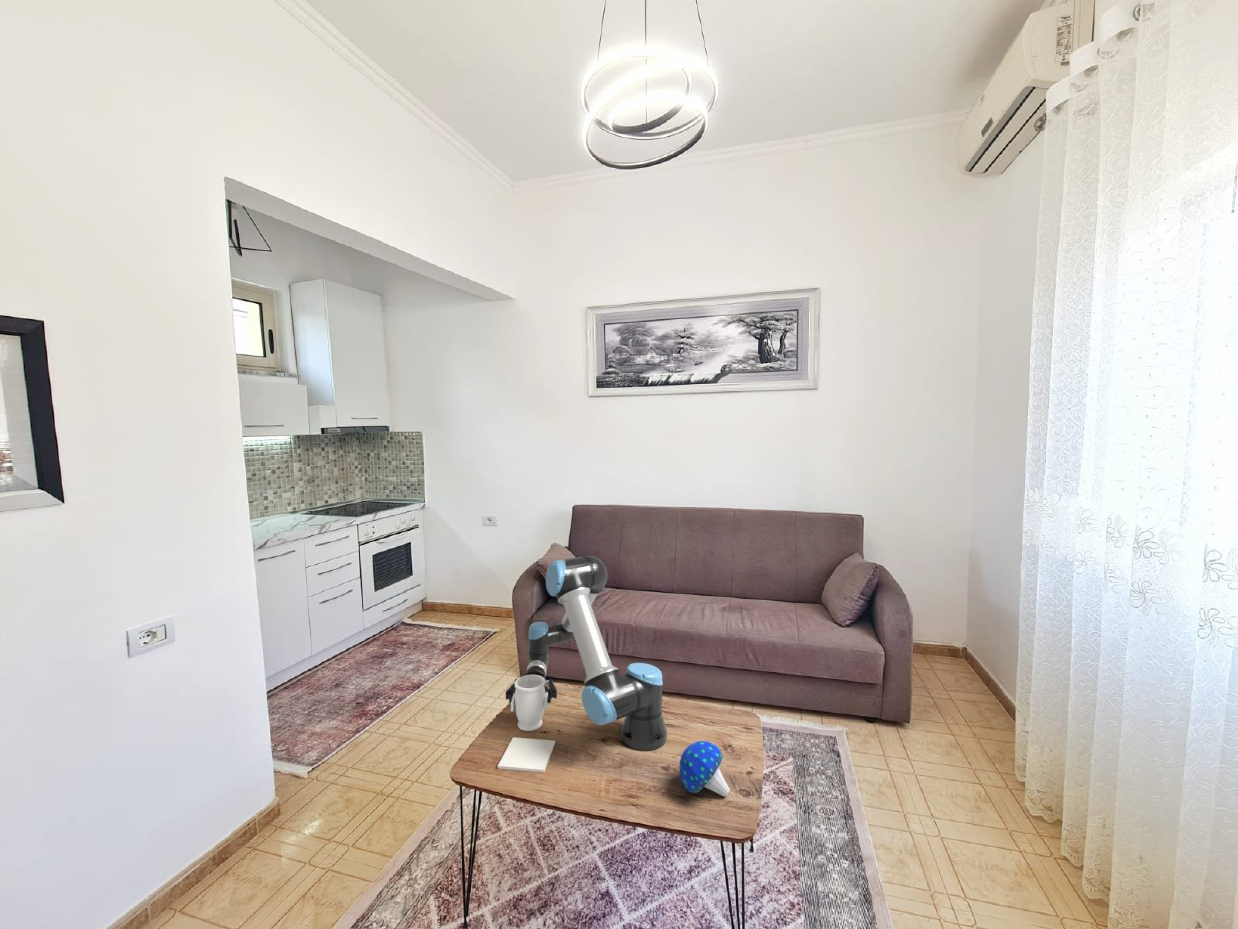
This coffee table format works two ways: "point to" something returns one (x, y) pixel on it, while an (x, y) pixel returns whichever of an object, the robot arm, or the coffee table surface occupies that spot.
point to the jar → (529, 701)
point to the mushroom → (702, 768)
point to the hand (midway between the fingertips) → (528, 706)
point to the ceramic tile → (527, 755)
